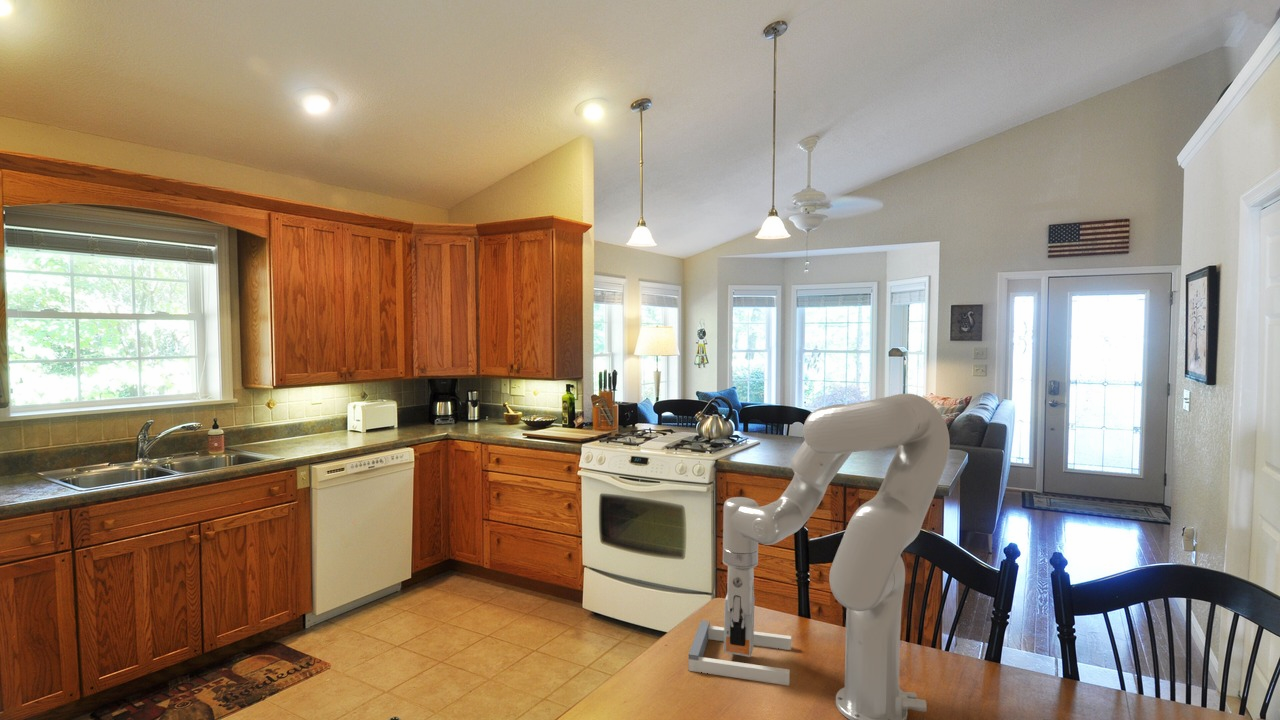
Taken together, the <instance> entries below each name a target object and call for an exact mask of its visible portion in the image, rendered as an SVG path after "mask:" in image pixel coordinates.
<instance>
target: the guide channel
mask: <svg viewBox="0 0 1280 720" xmlns="http://www.w3.org/2000/svg"><path fill="white" fill-rule="evenodd" d="M710 623H711V622H710V621H709V620H700V622H699V624H698V627H697V630H696V633H695V635H694V638H693V641H692V643H691V647H690V649H689V651H688V663H687V664H688V667H687V668H688V672H694V673H701V672H702V674H707V673H708V675H709V674H710V675H714V676H721V677H727V678H735V679H736V678H737V679H741V680H748V681H756V682H760V683H761V682H763V683H770V684H775V685H783V686H790V674H791V673H790V672H791V671H790V670H791V669H787V668H781V667H773V666H766V665H758V664H753V663H746V662H745V663H744V662H739V661H732V660H725V659H717V658H710V657H705V656H704V654H705V651H706V648H707V644H708V641H709V640H713V641H719V642H724V626H716V625H715V626H714V625H710ZM753 646H758V647H764V648H765V647H766V648H771V649H772V648H773V649H778V648H779V649H780V650H785V651H786V650H788V651H791V650H792V635H785V634H779V633H768V632H762V631H755V630H754V640H753ZM779 649H778V650H779Z"/></svg>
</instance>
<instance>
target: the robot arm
mask: <svg viewBox="0 0 1280 720" xmlns="http://www.w3.org/2000/svg"><path fill="white" fill-rule="evenodd" d="M802 435H803V439H804V441H803V442H802V444H801V445H800V446H799V447H798V449H797V450H796V452H795V453H794V455H792V458H791V460H790V468H791V470H792V471H793V473H794V475H793V477H792V479H791V481H790V483H789V484H788V485H787V487H786V489H785V490H784V492H782V494H781V496H780V497H779V498H778V499H776V500H775V501H772V502H770V503H768V504H765V505H761V506H759V503H758V501H756V500H755V499H752V498H750V497H745V496H744V497H743V496H736V497H735V496H734V497H729V498H728V499H726V500H725V501H724V502H723V503H724V504H723V509H722V510H723V520H722V521H723V522H722V523H723V524H722V529H723V531H722V563H723V565H724V566H727V581H726V582H727V586H726V587H727V592H726V596H727V604H728V612H729V613H730V614H731V625H730V644H732V645H739V646H745V635H746V627H744V621H745V615H747V616H749V615H751V612H752V601H753V599H752V598H753V595H754V596H755V583H754V582H755V581H754V580H755V579H754V578H755V573H754V572H755V570H754V568H756V567H758V565H759V544H760V545H761V544H762V545H766V546H770V545H771V546H773V545H775V544H777V543H779V542H781V541H783V540H784V539H786V538H788V537H789V536H792V535H794V534H795V533H797V532H798V531H800V529H801V528H803V527H804V525H805V524H806V522H807V521H808V520H809V519H810V517H811V516H813V514H814V512H815V511H816V510H817V508H818V507H819V505H820V504H821V501H823V498H824V496H825V494H826V492H827V491H828V490H827V489H828V485H830V483H831V482H832V480H833V479H834V477H836V475H837V473H838V472H839V471H840V470H841V468H842V467H843V465H844V464H845V462H846V461H848V459H849V458H850V456H851V455H852V453H858V452H864V451H865V452H866V451H872V450H873V451H875V450H882V449H883V450H884V449H890V448H891V449H892V448H896V447H897V449H896V452H895V453H894V456H893V457H892V459H891V461H890V463H889V464H888V468H887V470H886V474H885V477H884V479H883V481H882V483H881V485H880V487H879V489H878V491H877V492H876V495H874V496H873V498H871V499H870V500H867V501H866V502H865V503H863V504H861V505H860V506H859V507H858V508H857V509H856V511H854V513H853V514H852V516H851V518H850V520H849V522H848V524H847V526H846V528H845V532H844V533H843V536H842V538H841V541H840V544H839V546H838V548H837V550H836V553H835V556H834V558H833V561H832V564H831V567H830V570H829V574H828V575H829V577H828V578H829V579H828V580H829V586H830V590H831V593H832V595H833V596H834V598H835V600H836V601H837V602H838V603H839V604H840V605H841V606H843V607H844V608H845V609H846V617H845V618H846V619H845V648H844V649H845V655H844V658H845V659H844V661H845V662H844V687H842V688H840V689H839V690H838V691H837V692H836V694H835V705H836V708H837V709H838V711H839V712H840V713H841V714H842V715H843V716H844V717H845V718H847V719H848V720H907V719H908V710H913V711H917V712H925V713H926V712H928V711H927V706H928V705H927V701H926V699H920V698H918V695H917V693H916V692H910V691H909V692H908V691H907V692H906V691H903V689H901V687H900V656H901V655H900V654H901V653H900V650H901V649H900V647H901V630H902V629H901V626H902V625H901V624H902V608H903V607H902V606H903V598H904V591H905V584H906V568H905V563H904V560H903V557H902V554H903V551H904V550H905V549H906V548H907V547H909V545H910V544H911V543H913V542H914V541H915V539H916V538H917V537H918V535H920V532H921V529H922V526H923V523H924V520H925V518H926V516H927V513H928V511H929V508H930V506H931V504H932V502H933V499H934V497H935V494H936V490H937V488H938V485H939V483H940V481H941V478H942V476H943V474H944V472H945V468H946V464H947V462H948V459H949V454H950V444H951V443H950V441H951V440H950V433H949V430H948V425H947V423H946V420H945V418H944V416H942V414H941V413H940V411H939V410H938V408H937V407H935V405H934V404H933V403H932V402H930V401H929V400H928V399H926V398H924V397H923V396H920V395H918V394H914V393H899V394H894V395H891V396H885V397H880V398H877V399H876V398H875V399H870V400H865V401H859V402H854V403H849V404H845V403H844V404H842V403H841V404H831V405H828V406H823V407H820V408H817V409H815V410H813V411H812V412H810V414H808V416H807V418H806V419H805V421H804V424H803V428H802ZM740 610H743V612H740ZM740 616H742V620H741V619H740Z"/></svg>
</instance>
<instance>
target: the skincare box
mask: <svg viewBox="0 0 1280 720" xmlns="http://www.w3.org/2000/svg"><path fill="white" fill-rule="evenodd" d="M752 599H753V601H752V612H751V615H749V616H747V615H745V621H744V627H746V635H745V646H739V645H732V644H730V625H731V614H730V613H729V612H728V604H727V595H726V596H725V598H724V624H723V625H724V626H723V627H724V641H723V653H724V654H725V653H726V654H731V655H738V656H742V657H747V658H751V657H752V653H753V651H754V645H753V640H754V631H755V603H756V602H755V600H756V596H755V594H754V595H753V598H752ZM740 612H743V610H740ZM740 619H741V620H742V616H740Z"/></svg>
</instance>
